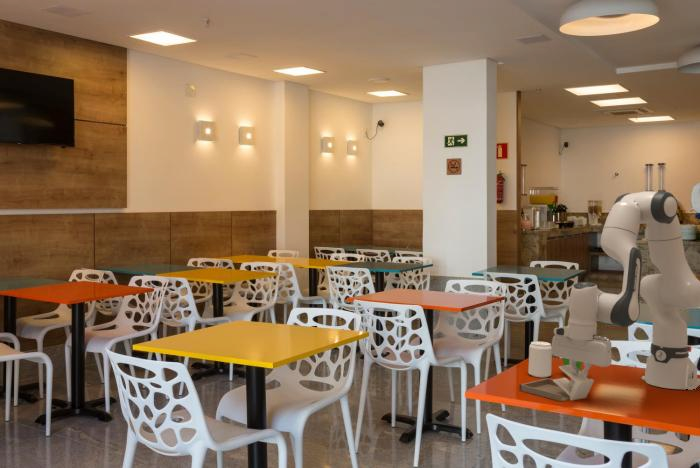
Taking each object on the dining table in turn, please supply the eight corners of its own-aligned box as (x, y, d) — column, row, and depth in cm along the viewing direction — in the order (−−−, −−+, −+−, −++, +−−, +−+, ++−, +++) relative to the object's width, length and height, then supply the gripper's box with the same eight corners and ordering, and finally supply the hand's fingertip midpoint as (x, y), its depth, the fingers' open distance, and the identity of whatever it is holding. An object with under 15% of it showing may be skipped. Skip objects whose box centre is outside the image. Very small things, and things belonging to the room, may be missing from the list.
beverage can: (552, 378, 247) (553, 346, 246) (529, 377, 249) (530, 344, 248) (550, 373, 255) (551, 341, 254) (527, 372, 256) (528, 340, 256)
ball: (583, 393, 222) (573, 386, 226) (587, 382, 221) (577, 375, 224) (573, 395, 220) (563, 388, 223) (577, 383, 219) (567, 376, 222)
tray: (547, 383, 240) (547, 378, 240) (588, 394, 227) (588, 388, 227) (519, 390, 230) (519, 384, 230) (560, 401, 217) (560, 395, 217)
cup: (587, 375, 254) (588, 346, 254) (581, 380, 246) (582, 349, 246) (562, 371, 259) (564, 342, 258) (556, 376, 251) (557, 346, 251)
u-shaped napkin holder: (585, 397, 223) (565, 379, 230) (594, 380, 220) (572, 362, 227) (571, 400, 219) (551, 382, 226) (579, 383, 216) (558, 365, 223)
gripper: (616, 337, 214) (614, 381, 214) (561, 327, 230) (558, 367, 230) (605, 338, 210) (603, 383, 210) (549, 328, 226) (547, 369, 226)
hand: (579, 375), depth 220 cm, fingers closed
